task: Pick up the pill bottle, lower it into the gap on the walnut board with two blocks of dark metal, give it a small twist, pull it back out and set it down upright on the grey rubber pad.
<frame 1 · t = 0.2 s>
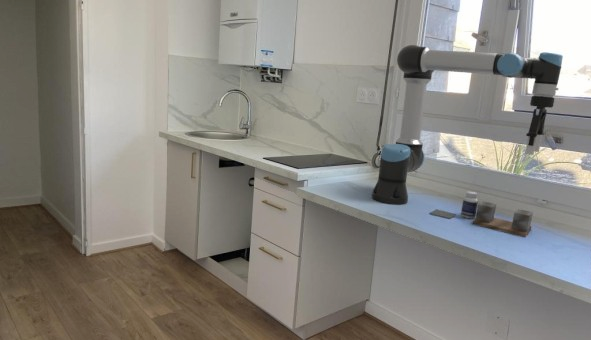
hand: (532, 152, 165), 27 cm above the worktop, fingers open, 13 cm apart
pill bottle: (467, 217, 172), on the worktop
board with two blocks: (501, 226, 162), on the worktop
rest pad: (442, 214, 171), on the worktop
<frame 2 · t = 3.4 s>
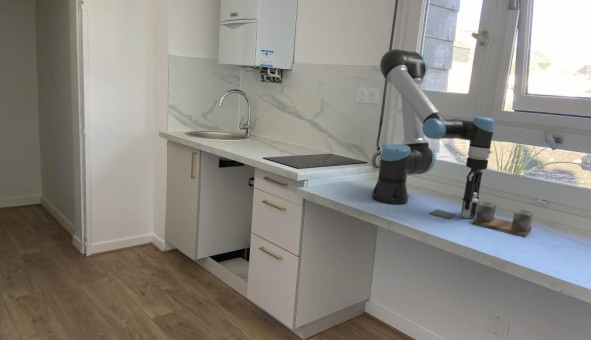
hand: (468, 215, 172), 0 cm above the worktop, fingers closed on pill bottle, 5 cm apart
pill bottle: (467, 216, 172), on the worktop, touching gripper
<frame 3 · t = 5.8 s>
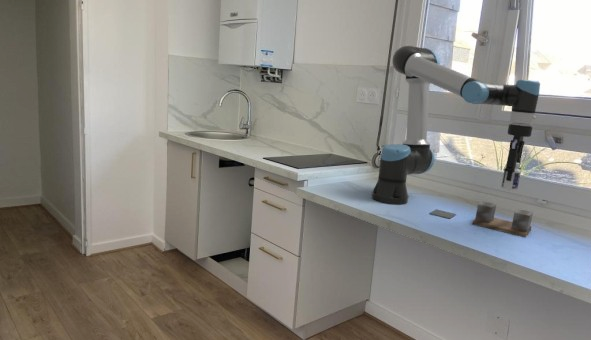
hand: (509, 188, 159), 15 cm above the worktop, fingers closed on pill bottle, 5 cm apart
pill bottle: (508, 189, 159), point 14 cm above the worktop, touching gripper
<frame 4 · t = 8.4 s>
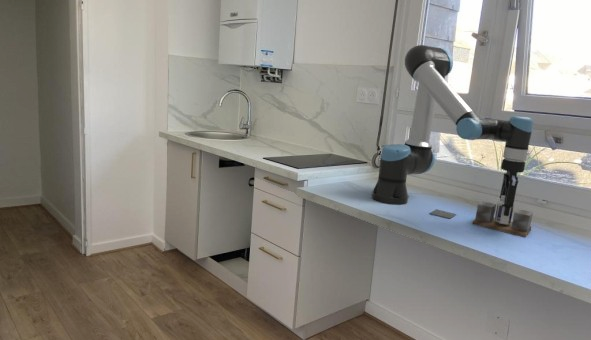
hand: (502, 221, 161), 2 cm above the worktop, fingers closed on pill bottle, 5 cm apart
pill bottle: (502, 222, 162), point 2 cm above the worktop, touching gripper
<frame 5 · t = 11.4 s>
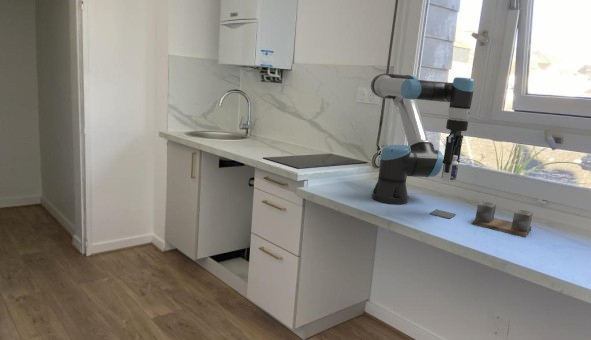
hand: (448, 179, 168), 14 cm above the worktop, fingers closed on pill bottle, 5 cm apart
pill bottle: (448, 180, 169), point 14 cm above the worktop, touching gripper
when the fingers open (2 cm above the worktop, at t = 13.8 s): pill bottle drops 1 cm, resting on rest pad.
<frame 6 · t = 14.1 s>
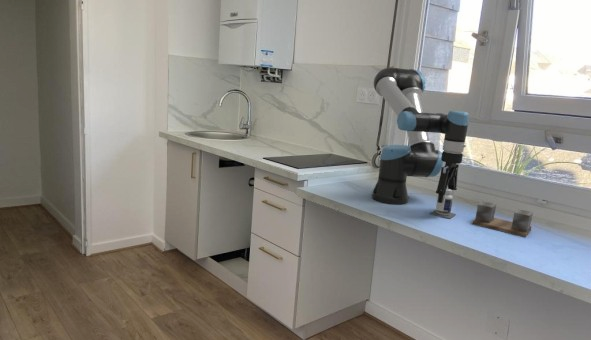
hand: (443, 207, 171), 3 cm above the worktop, fingers open, 10 cm apart
pill bottle: (442, 213, 171), resting on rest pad
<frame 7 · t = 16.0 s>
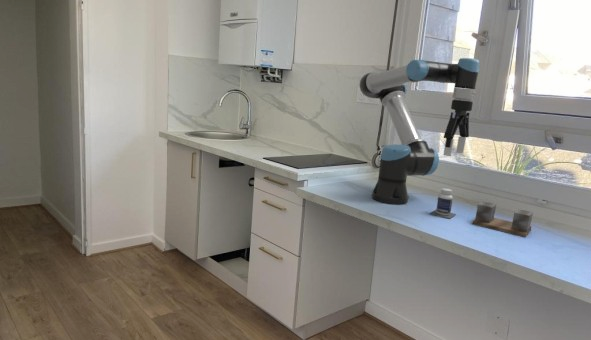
hand: (453, 154, 172), 23 cm above the worktop, fingers open, 13 cm apart
nothing on the worktop moved.
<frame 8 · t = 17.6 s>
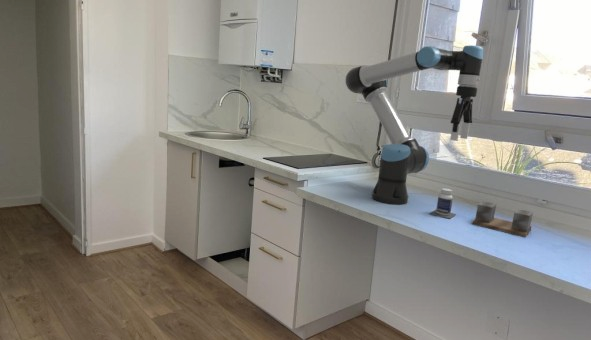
hand: (458, 139, 177), 29 cm above the worktop, fingers open, 13 cm apart
nothing on the worktop moved.
at the end: pill bottle inside the target area on the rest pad (0.1 cm from its centre), point 0.2 cm above the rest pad's base; pill bottle tilted 0°; the gripper is holding nothing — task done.
